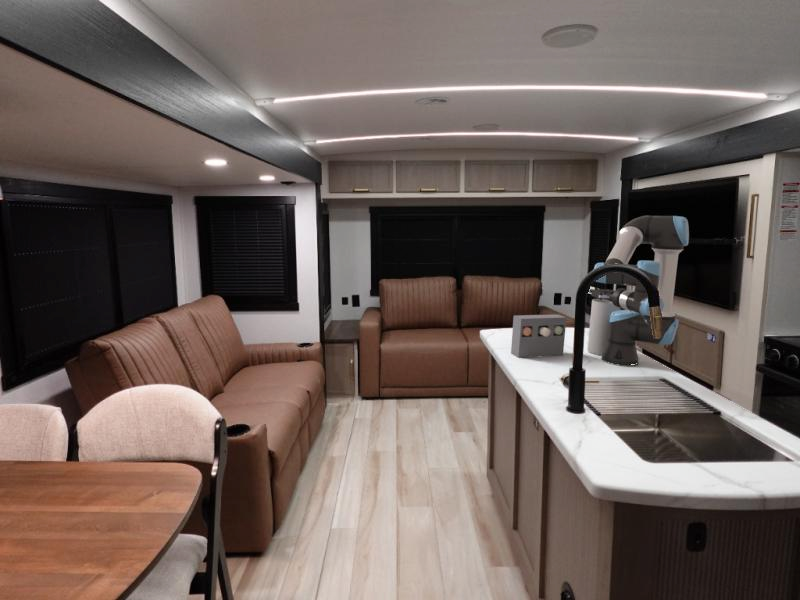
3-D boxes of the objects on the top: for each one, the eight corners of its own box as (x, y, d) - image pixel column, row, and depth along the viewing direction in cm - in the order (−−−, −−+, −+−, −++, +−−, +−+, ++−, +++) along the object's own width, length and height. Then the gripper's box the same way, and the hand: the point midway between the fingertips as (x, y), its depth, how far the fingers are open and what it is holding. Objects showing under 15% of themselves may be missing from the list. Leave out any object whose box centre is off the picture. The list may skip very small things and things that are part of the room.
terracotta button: (526, 333, 226) (527, 325, 225) (531, 335, 222) (531, 327, 221) (519, 333, 225) (519, 325, 224) (523, 336, 221) (524, 327, 220)
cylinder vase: (612, 357, 227) (618, 304, 222) (584, 353, 234) (589, 301, 229) (617, 352, 237) (623, 301, 233) (590, 347, 244) (595, 298, 240)
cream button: (545, 334, 225) (545, 326, 225) (550, 336, 221) (550, 328, 221) (537, 334, 224) (538, 326, 224) (542, 336, 220) (543, 328, 220)
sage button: (557, 332, 230) (558, 324, 229) (562, 334, 226) (562, 326, 225) (550, 332, 229) (550, 324, 228) (555, 334, 225) (555, 326, 224)
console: (554, 351, 235) (557, 314, 232) (563, 355, 229) (566, 317, 226) (511, 353, 229) (513, 315, 226) (518, 357, 222) (521, 318, 219)
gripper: (610, 309, 187) (573, 298, 209) (639, 308, 190) (600, 297, 213) (612, 290, 186) (575, 281, 208) (641, 289, 189) (601, 280, 211)
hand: (587, 289), depth 210 cm, fingers closed
